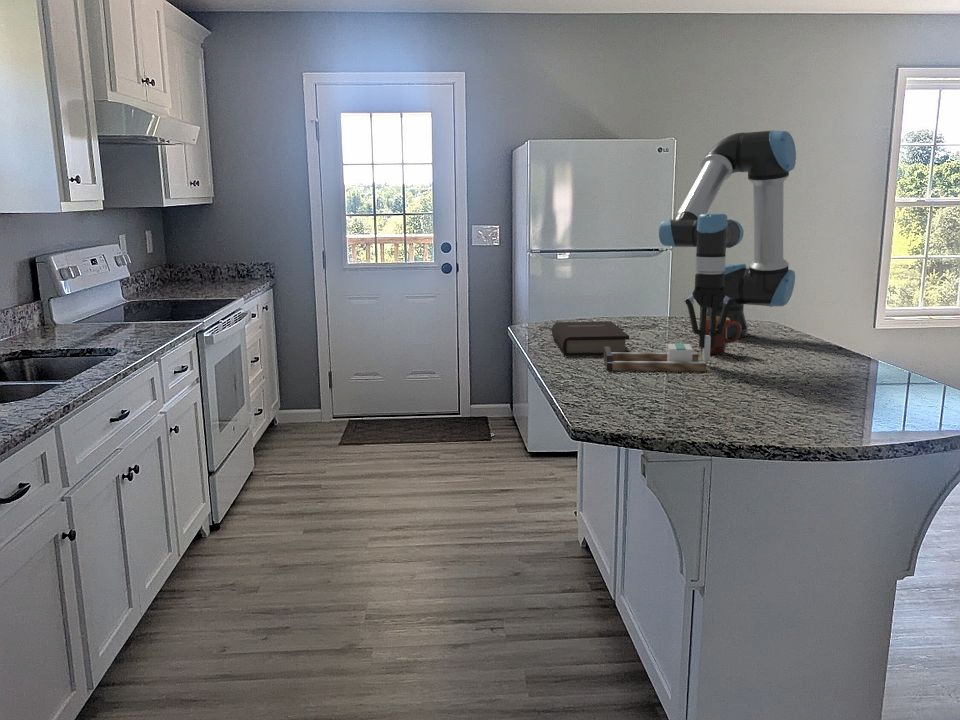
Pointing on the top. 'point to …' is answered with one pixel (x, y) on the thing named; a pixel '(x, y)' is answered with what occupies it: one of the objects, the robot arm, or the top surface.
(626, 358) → the rail board
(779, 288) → the robot arm
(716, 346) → the mug
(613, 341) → the book
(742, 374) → the top surface
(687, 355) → the block
